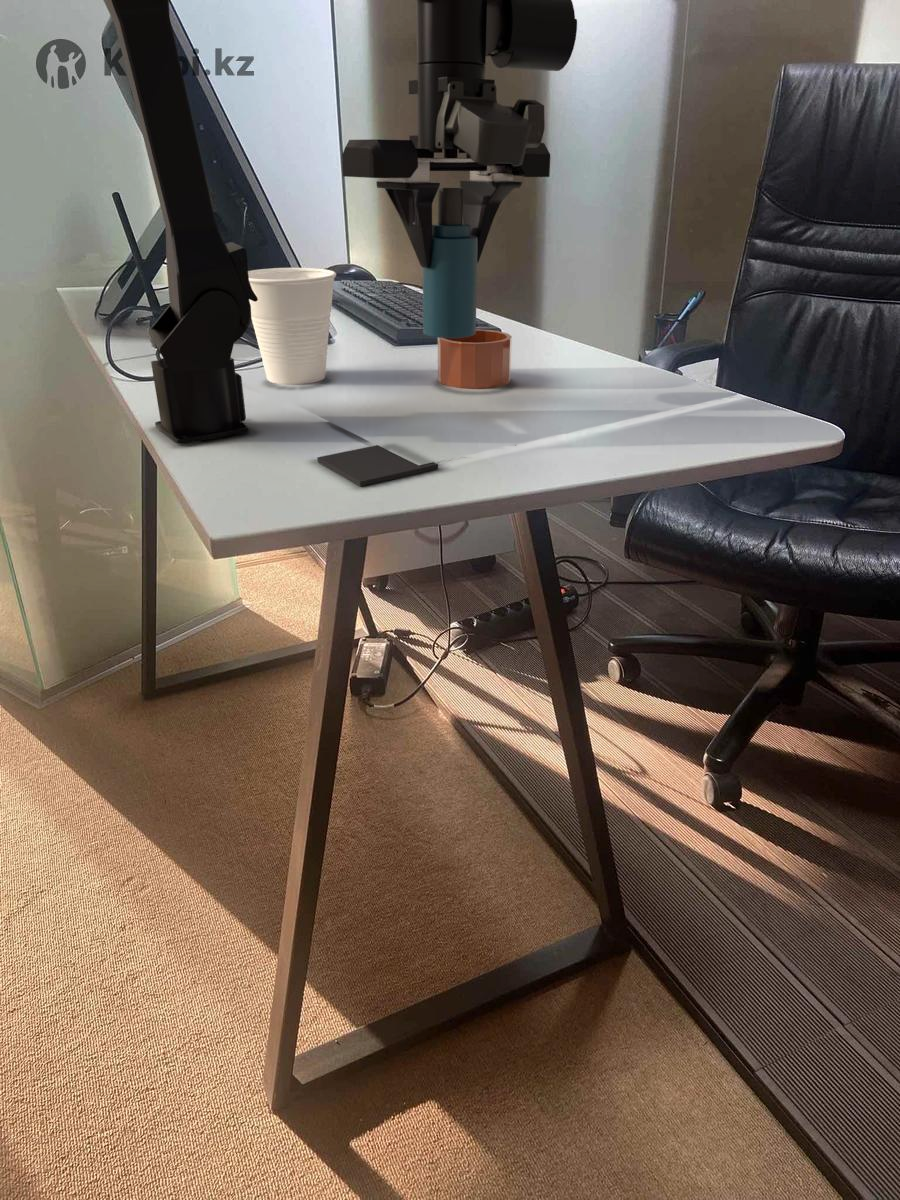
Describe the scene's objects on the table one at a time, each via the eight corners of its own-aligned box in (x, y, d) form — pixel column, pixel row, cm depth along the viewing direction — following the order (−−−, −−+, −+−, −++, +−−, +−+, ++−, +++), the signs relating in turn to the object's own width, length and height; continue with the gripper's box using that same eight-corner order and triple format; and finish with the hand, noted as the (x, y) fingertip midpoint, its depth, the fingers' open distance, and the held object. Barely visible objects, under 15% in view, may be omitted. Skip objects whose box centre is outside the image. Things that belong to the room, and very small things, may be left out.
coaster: (360, 486, 64) (360, 481, 63) (317, 461, 69) (316, 457, 68) (438, 468, 67) (438, 464, 67) (391, 446, 72) (391, 442, 72)
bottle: (443, 340, 78) (443, 188, 72) (413, 331, 82) (411, 186, 76) (486, 334, 81) (490, 188, 75) (455, 326, 84) (457, 186, 79)
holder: (466, 397, 87) (466, 346, 84) (424, 382, 92) (424, 334, 90) (524, 386, 90) (526, 337, 88) (481, 372, 96) (482, 326, 94)
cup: (295, 398, 86) (285, 282, 81) (230, 383, 92) (217, 274, 86) (361, 379, 93) (356, 272, 88) (297, 367, 99) (289, 265, 93)
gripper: (410, 50, 61) (412, 283, 68) (600, 66, 70) (584, 268, 78) (334, 61, 69) (343, 268, 76) (514, 74, 78) (507, 257, 86)
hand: (449, 265), depth 79 cm, fingers closed on bottle, 5 cm apart
